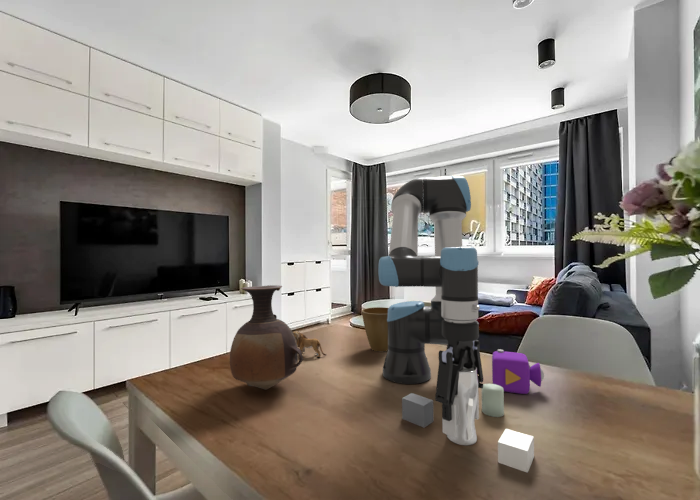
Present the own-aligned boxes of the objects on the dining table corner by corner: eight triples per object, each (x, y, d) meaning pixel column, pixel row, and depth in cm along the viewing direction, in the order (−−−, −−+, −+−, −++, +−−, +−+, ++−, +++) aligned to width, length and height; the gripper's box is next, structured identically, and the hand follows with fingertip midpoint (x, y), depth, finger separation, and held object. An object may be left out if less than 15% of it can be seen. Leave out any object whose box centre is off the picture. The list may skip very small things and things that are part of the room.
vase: (315, 389, 99) (314, 285, 99) (256, 412, 85) (255, 292, 85) (270, 371, 115) (269, 282, 115) (214, 388, 101) (213, 286, 101)
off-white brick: (527, 473, 60) (527, 451, 60) (498, 463, 64) (497, 441, 64) (534, 457, 65) (533, 436, 65) (506, 448, 68) (505, 428, 68)
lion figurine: (288, 356, 132) (288, 332, 132) (294, 352, 137) (294, 329, 137) (324, 358, 127) (323, 334, 127) (329, 354, 132) (328, 331, 133)
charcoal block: (402, 419, 81) (402, 398, 81) (412, 413, 83) (411, 392, 84) (424, 428, 76) (423, 405, 76) (433, 421, 79) (433, 400, 79)
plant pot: (354, 349, 139) (354, 310, 139) (379, 342, 149) (378, 306, 149) (382, 357, 128) (381, 314, 128) (406, 349, 138) (406, 309, 138)
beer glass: (478, 431, 74) (477, 363, 74) (479, 449, 68) (478, 373, 68) (445, 427, 77) (444, 360, 77) (443, 443, 70) (442, 370, 70)
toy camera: (549, 398, 91) (549, 360, 91) (495, 394, 94) (494, 358, 94) (536, 383, 101) (535, 349, 102) (487, 380, 104) (487, 347, 104)
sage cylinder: (478, 412, 83) (477, 387, 84) (487, 405, 87) (486, 382, 87) (499, 419, 80) (498, 393, 80) (507, 411, 83) (506, 387, 84)
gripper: (449, 331, 62) (451, 454, 62) (498, 314, 78) (500, 413, 77) (415, 325, 67) (416, 439, 67) (467, 310, 83) (468, 403, 83)
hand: (461, 425), depth 72 cm, fingers open, 9 cm apart
